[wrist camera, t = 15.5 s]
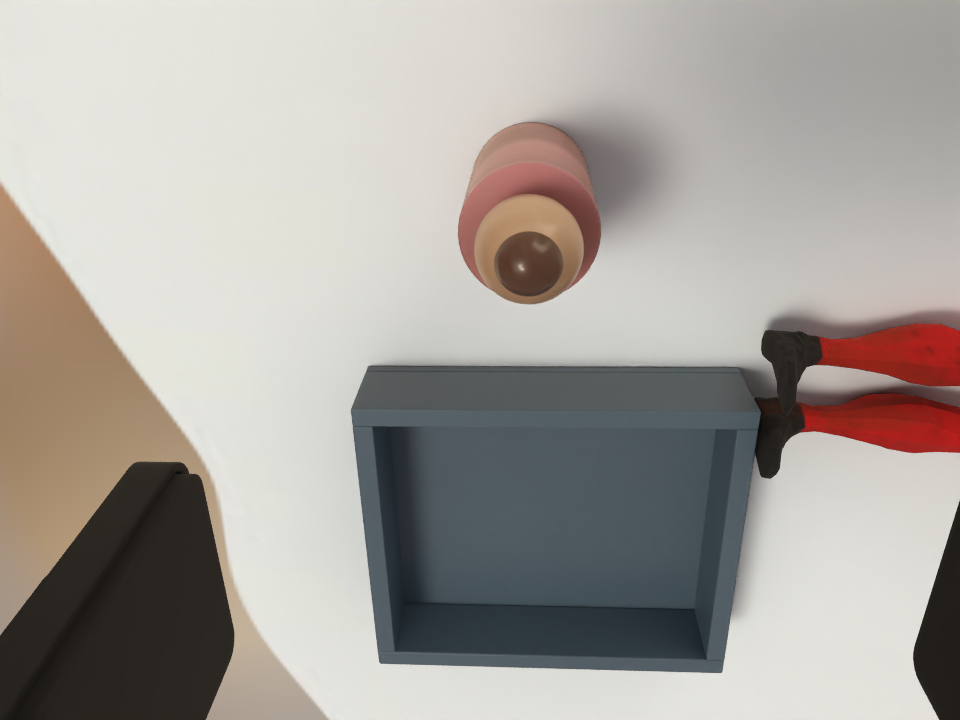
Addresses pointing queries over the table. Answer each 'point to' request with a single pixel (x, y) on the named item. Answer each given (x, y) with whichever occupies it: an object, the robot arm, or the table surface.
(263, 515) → the table surface
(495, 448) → the tray
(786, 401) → the action figure
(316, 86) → the table surface
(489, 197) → the peg doll
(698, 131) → the table surface
